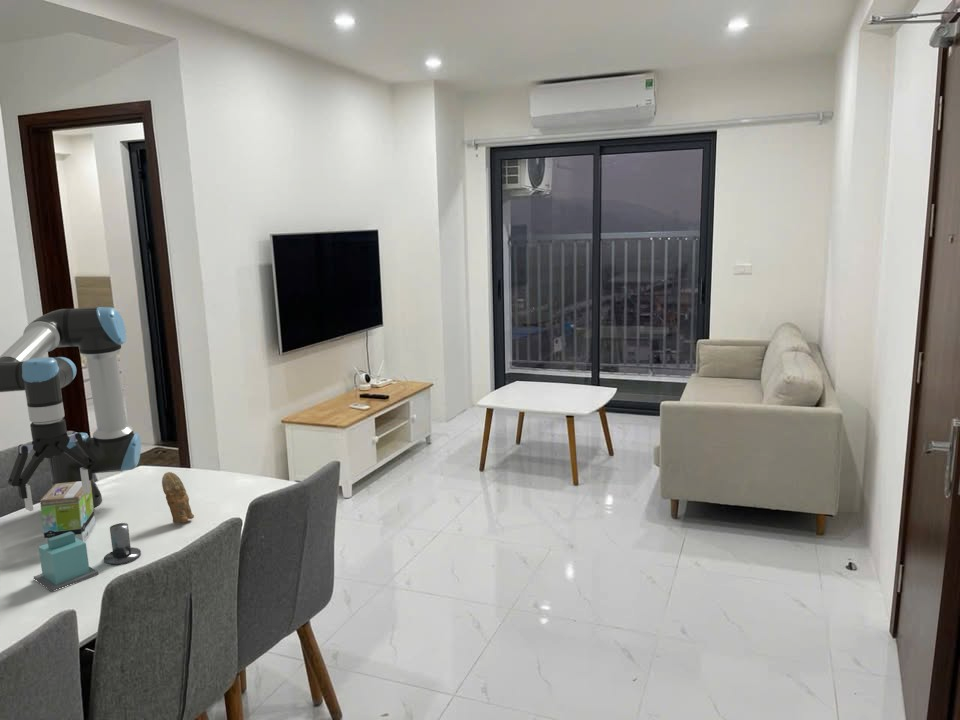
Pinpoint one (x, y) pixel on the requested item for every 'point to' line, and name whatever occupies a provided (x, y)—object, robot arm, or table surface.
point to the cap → (63, 558)
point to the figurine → (176, 497)
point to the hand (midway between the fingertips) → (59, 500)
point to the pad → (53, 586)
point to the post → (121, 546)
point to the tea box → (67, 511)
